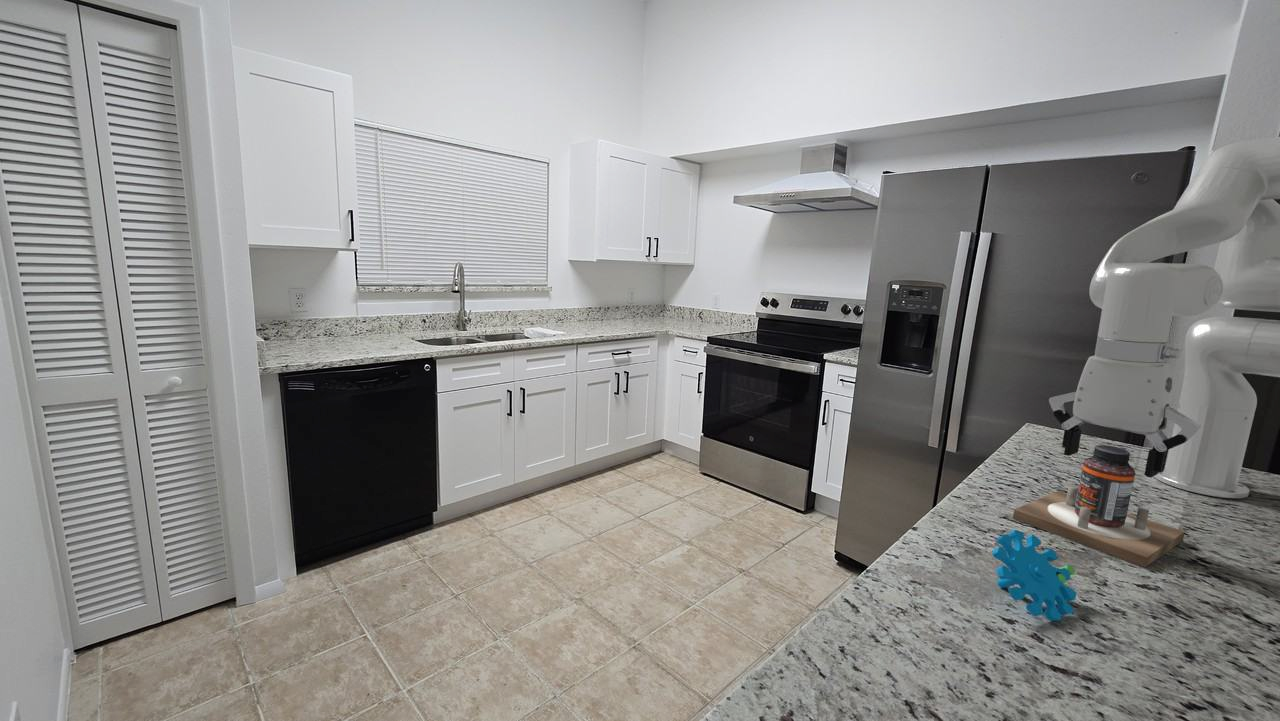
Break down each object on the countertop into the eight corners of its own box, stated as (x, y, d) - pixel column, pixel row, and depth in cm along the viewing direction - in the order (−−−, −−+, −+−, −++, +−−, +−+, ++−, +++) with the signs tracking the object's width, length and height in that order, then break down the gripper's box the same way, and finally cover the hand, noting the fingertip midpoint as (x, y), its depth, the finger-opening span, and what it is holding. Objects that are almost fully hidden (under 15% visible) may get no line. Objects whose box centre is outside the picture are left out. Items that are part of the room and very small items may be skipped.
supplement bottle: (1063, 510, 84) (1075, 442, 82) (1098, 510, 85) (1111, 442, 83) (1098, 529, 78) (1112, 455, 77) (1135, 528, 79) (1150, 455, 77)
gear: (1026, 618, 58) (988, 526, 63) (984, 627, 62) (952, 541, 68) (1104, 619, 60) (1060, 530, 66) (1058, 628, 65) (1021, 544, 71)
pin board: (1056, 499, 93) (1060, 474, 92) (1182, 540, 79) (1189, 512, 78) (1012, 518, 85) (1017, 491, 84) (1144, 567, 71) (1151, 536, 71)
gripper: (1223, 359, 72) (1197, 479, 75) (1069, 341, 86) (1053, 442, 90) (1204, 364, 68) (1178, 490, 71) (1047, 345, 83) (1031, 450, 86)
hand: (1109, 463), depth 80 cm, fingers open, 9 cm apart
